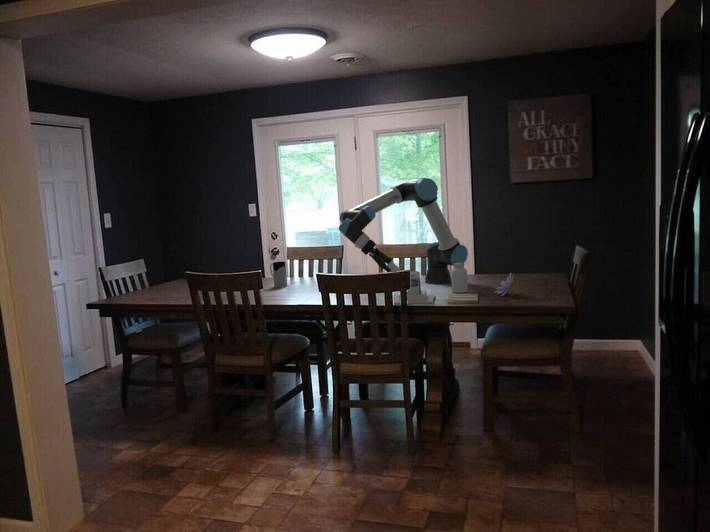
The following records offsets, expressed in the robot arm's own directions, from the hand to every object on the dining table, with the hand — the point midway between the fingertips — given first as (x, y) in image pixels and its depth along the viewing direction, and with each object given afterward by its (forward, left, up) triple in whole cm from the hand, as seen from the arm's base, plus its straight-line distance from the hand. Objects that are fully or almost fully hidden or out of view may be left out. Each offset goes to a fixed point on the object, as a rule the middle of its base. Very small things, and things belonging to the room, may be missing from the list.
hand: (397, 273), depth 289 cm
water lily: (-12, +51, -14) cm, 54 cm away
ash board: (-1, +31, -14) cm, 34 cm away
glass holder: (-56, -81, -14) cm, 99 cm away
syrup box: (-1, +7, -14) cm, 16 cm away
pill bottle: (-22, +29, -14) cm, 39 cm away
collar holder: (-1, +7, -14) cm, 16 cm away
